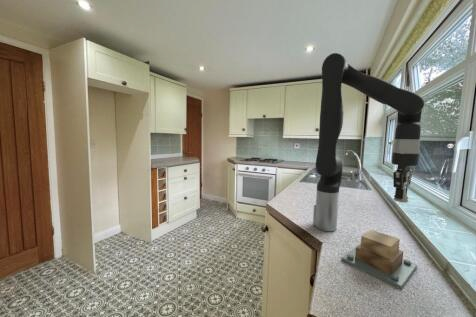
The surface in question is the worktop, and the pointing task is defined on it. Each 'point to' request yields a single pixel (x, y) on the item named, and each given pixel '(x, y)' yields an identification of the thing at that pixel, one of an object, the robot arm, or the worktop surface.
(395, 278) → the baseplate
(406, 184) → the rook chess piece
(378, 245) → the stepped wooden plinth
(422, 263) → the worktop surface
